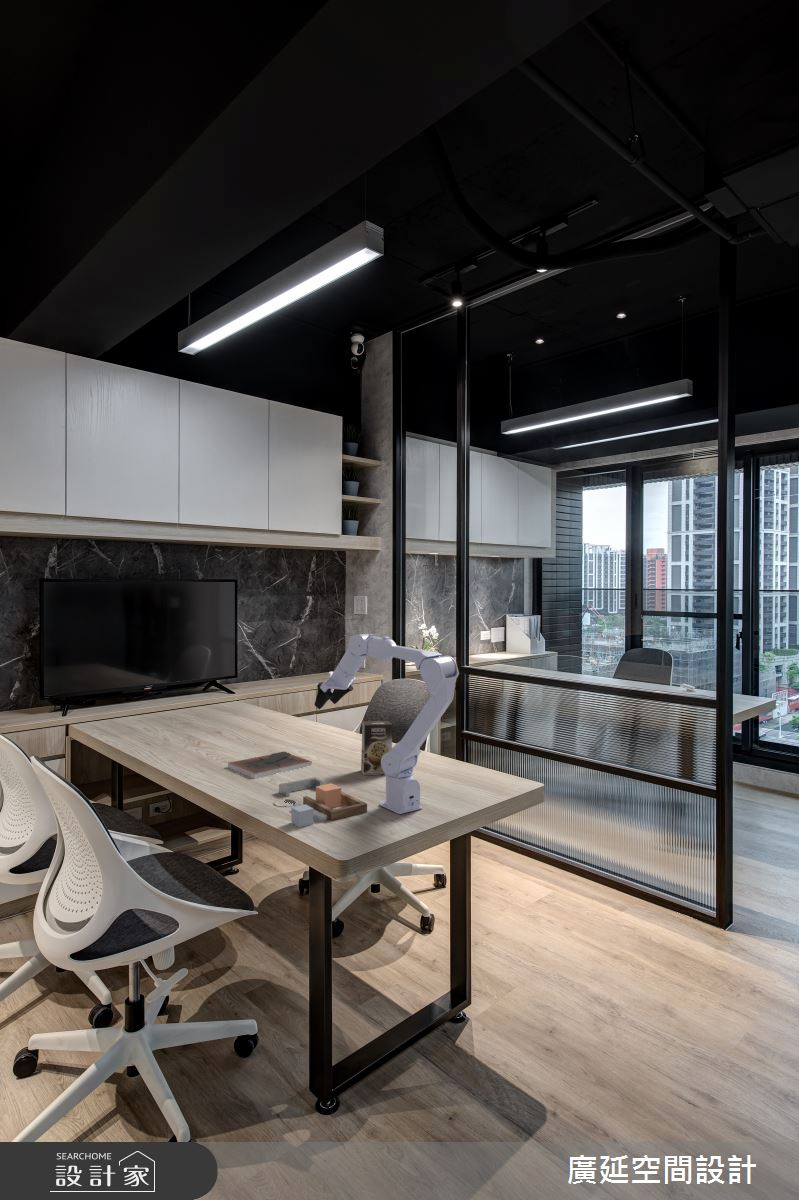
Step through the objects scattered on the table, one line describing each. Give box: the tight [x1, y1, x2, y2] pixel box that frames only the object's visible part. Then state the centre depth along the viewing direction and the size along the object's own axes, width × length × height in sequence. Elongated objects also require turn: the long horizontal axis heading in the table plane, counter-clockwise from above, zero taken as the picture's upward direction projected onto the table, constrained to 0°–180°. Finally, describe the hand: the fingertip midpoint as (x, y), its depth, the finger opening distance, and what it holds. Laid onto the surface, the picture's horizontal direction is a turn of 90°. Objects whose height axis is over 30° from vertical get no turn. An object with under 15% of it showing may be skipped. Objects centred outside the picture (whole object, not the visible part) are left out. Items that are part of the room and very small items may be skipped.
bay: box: [302, 790, 368, 821], centre depth 175 cm, size 15×11×2 cm
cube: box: [315, 783, 342, 809], centre depth 178 cm, size 5×5×5 cm
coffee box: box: [360, 720, 393, 776], centre depth 210 cm, size 9×6×16 cm
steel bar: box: [293, 803, 328, 823], centre depth 170 cm, size 12×2×2 cm, turn 44°
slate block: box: [290, 804, 314, 828], centre depth 164 cm, size 4×4×4 cm
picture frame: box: [227, 751, 313, 779], centre depth 214 cm, size 16×2×22 cm
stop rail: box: [278, 776, 324, 797], centre depth 190 cm, size 4×12×2 cm, turn 128°
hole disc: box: [284, 798, 297, 806], centre depth 179 cm, size 6×6×1 cm
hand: (325, 704), depth 191 cm, fingers open, 7 cm apart
